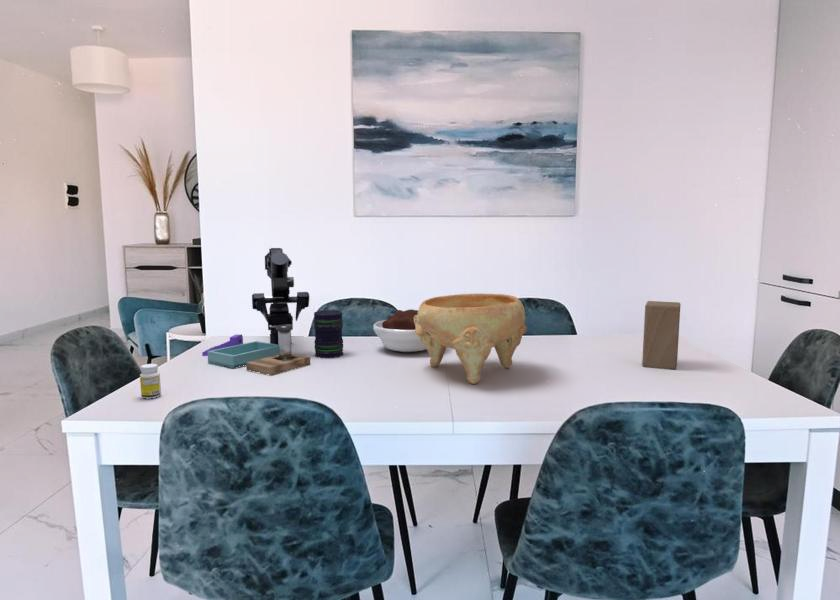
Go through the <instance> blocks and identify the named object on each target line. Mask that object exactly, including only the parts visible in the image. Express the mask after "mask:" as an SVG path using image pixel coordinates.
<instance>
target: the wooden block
mask: <svg viewBox="0 0 840 600" xmlns="http://www.w3.org/2000/svg"><path fill="white" fill-rule="evenodd" d="M681 305H682V304H681V303H680V302H676V301H659V300H648V301H646V303H645V305H644V323H643V343H642V361H641V362H642V363H641V365H642V367H643V368H650V369H651V368H652V369H662V370H663V369H664V370H672V371H673V370H674V371H675V370H677V368H678V355H679V354H678V353H679V337H680V336H679V335H680V323H681V322H680V321H681V319H680V318H681Z"/></svg>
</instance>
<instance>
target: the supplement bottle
mask: <svg viewBox="0 0 840 600" xmlns="http://www.w3.org/2000/svg"><path fill="white" fill-rule="evenodd" d="M158 370H159V366H158V364H157V363H146V364H143V365H141V366H140V372H141V373H140V374H139V381H140V394H141V395H140V396H141V398H142V399H143V398H146V399H145V400H151V398H153V399H157V398H159V396H160V397H161V396H162V388H161V387H162V386H161V373H160V372H159V371H158ZM156 397H157V398H156Z"/></svg>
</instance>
